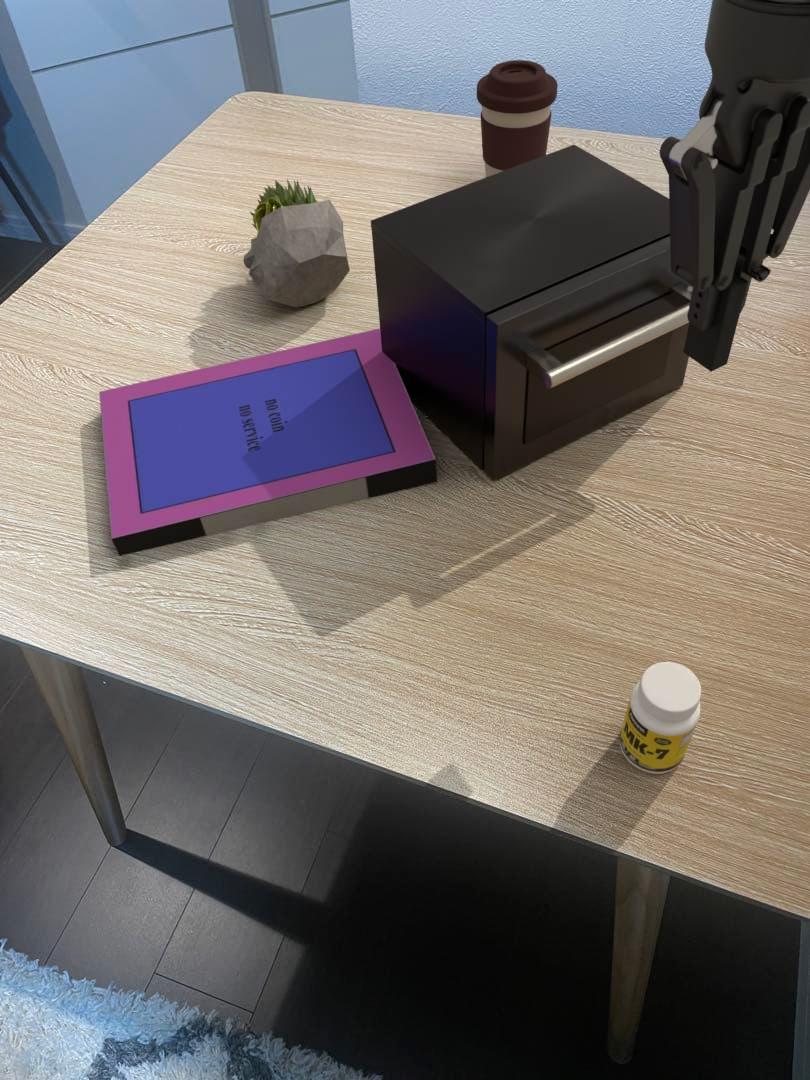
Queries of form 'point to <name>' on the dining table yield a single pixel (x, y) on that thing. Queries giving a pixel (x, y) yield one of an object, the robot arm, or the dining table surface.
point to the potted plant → (296, 247)
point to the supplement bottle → (661, 718)
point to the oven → (495, 269)
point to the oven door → (582, 356)
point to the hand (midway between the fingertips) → (704, 357)
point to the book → (258, 441)
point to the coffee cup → (515, 114)
